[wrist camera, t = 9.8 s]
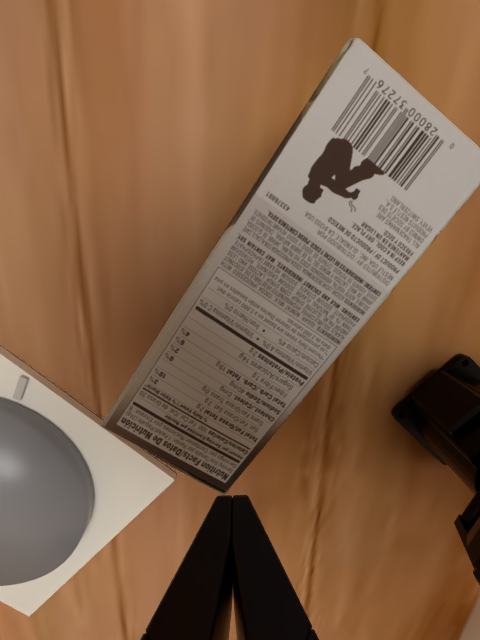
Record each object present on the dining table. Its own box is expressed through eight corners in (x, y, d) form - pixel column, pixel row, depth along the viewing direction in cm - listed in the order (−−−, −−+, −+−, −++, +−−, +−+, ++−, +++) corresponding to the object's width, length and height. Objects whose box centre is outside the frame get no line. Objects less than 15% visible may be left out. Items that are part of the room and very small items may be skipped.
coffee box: (380, 196, 18) (231, 394, 22) (294, 128, 17) (154, 348, 21) (509, 165, 10) (227, 502, 13) (351, 23, 9) (93, 432, 12)
